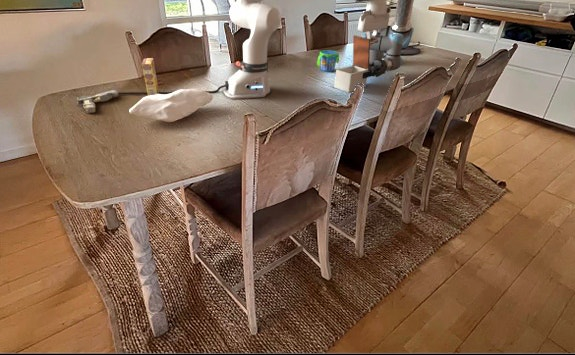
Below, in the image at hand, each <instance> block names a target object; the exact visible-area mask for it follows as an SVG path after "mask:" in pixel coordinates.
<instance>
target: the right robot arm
mask: <svg viewBox="0 0 575 355" xmlns="http://www.w3.org/2000/svg"><path fill="white" fill-rule="evenodd" d="M414 2H415V0H397V1H396V9H395V14H394V19H393V20H394V21H392V22H391V24H390V25H388V26H387V28H384V29H379V30H378V33H377V35H376V38H375V39H378V42H377V43H374V44H372V45H370V57H369V68H368V72H365V73H363V79H364V78H367V79H368V78H370V77H376V78H379V77H381V76H382V75H383V74H386V73H387V72H392V71H395V70H397V69H400V68H401V67H402V65H403V57H402V56H401V54H400V53H401V49H402V48H407V47H412V46H413V47H418V46H420V44H421V42H420V41H418V42H417V44H411V45H410V43H411V41H412V38H413V37H412V36H413V34H414V27H413V25H412V23H411V18H412V13H413V7H414ZM373 32H374V31H372V33H371V35H372V34H373ZM361 37H364V38H365V37H367V33H366V32H365V33H363V34H362V35H361ZM370 43H371V42H370ZM383 51H387V52H383ZM351 66H353V64H351ZM354 66H357V65H354ZM358 67H360V66H358ZM361 68H364V67H361ZM364 69H367V68H364Z"/></svg>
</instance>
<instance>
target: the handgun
mask: <svg viewBox="0 0 575 355" xmlns="http://www.w3.org/2000/svg"><path fill="white" fill-rule="evenodd" d="M119 96H120V94H118V91H117V90H116V89H112V90H108V91H105V92H104V91H103V92H101V93H96V94H94V95H86V94H85V95H84V94H83V95H81V96H80V97H77V98H76V101H77V104H78V105H82V108H83V109H84V110H85V113H87V114H91V113H95V112H96V104H95V103H98V102H106V101H109V100H111V99H113V98H117V97H119Z"/></svg>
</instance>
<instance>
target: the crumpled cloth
mask: <svg viewBox="0 0 575 355" xmlns="http://www.w3.org/2000/svg"><path fill="white" fill-rule="evenodd" d="M206 91H207V90H203V89H201V88H187V89H186V88H185V89H184V88H183V89H177V90H175V91H172V92H173V93H171V94H156V95H150V96H148V95H146V96H144V97H142V98H141V99H140V100H139V101H138V102H137V103H136V104H134V105H133V106H132V107H131V108H129V114H130V115H135V116H140V117H145V118H146V119H149V120H152V121H155V120H158V121H163V122H166V123H174V122H176V121H178V120H181V119H183V118H185V117H188V116H190V115H192V114H193V113H195V112H196V111H197V110H199V109H200V108H202V107H204V106H206V105H207V104H210V102H211V101H212V100H213V99H214V98H213V97H214V96H213V93H208V92H206Z"/></svg>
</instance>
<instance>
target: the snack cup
mask: <svg viewBox="0 0 575 355" xmlns="http://www.w3.org/2000/svg"><path fill="white" fill-rule="evenodd" d="M339 62H340V54H339V52H338V51H336V50H331V49H325V50H324V49H323V50H320V51H319V55H318V57H317V61H316V66H318V67H320V70H321V71H323V72H327V73H329V72H330V73H331V72H334V71H335V67H336V63H337V64H339Z"/></svg>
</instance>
